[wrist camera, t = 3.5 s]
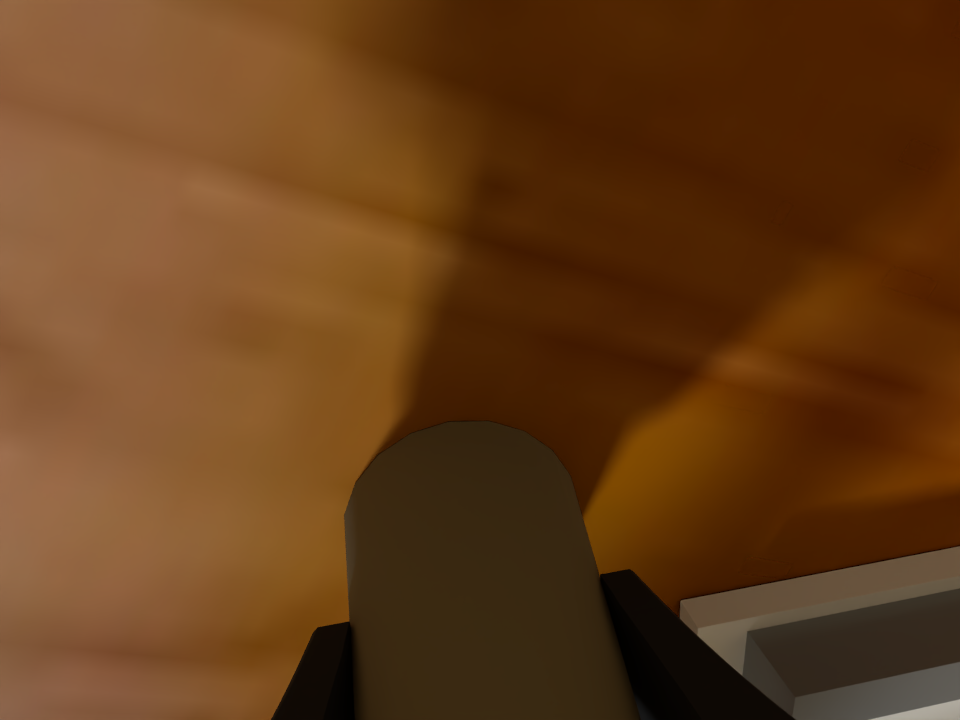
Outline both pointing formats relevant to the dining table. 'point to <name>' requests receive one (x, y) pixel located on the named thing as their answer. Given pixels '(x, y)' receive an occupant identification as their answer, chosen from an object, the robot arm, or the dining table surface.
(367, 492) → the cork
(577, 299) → the dining table surface
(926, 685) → the socket block
